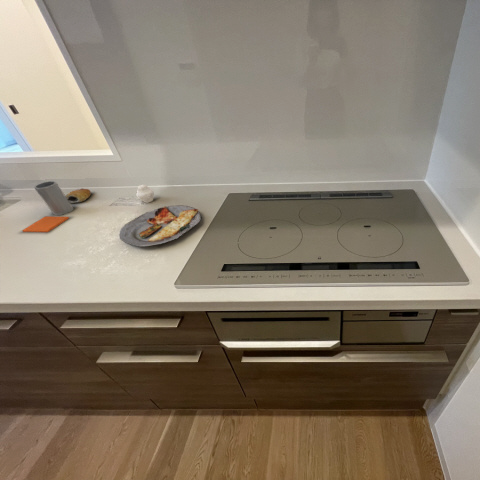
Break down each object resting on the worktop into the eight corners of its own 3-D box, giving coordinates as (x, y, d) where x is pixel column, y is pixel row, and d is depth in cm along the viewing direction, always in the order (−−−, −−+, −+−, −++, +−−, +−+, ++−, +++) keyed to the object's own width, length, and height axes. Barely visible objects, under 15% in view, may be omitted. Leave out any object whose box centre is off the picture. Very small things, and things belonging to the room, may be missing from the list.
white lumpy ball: (136, 202, 106) (129, 186, 102) (151, 196, 110) (144, 180, 106) (145, 206, 104) (137, 189, 99) (160, 199, 108) (153, 183, 104)
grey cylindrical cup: (49, 215, 100) (29, 188, 93) (62, 206, 104) (44, 180, 98) (64, 215, 99) (45, 188, 93) (77, 207, 104) (60, 181, 97)
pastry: (79, 193, 113) (74, 185, 111) (96, 192, 114) (91, 184, 112) (65, 204, 106) (60, 195, 104) (84, 203, 107) (78, 194, 104)
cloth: (23, 231, 91) (22, 230, 90) (46, 217, 98) (45, 216, 98) (47, 232, 90) (46, 230, 90) (69, 218, 98) (68, 216, 97)
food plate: (166, 205, 104) (163, 197, 101) (215, 215, 97) (213, 207, 95) (106, 242, 85) (100, 233, 83) (162, 257, 78) (158, 248, 76)
